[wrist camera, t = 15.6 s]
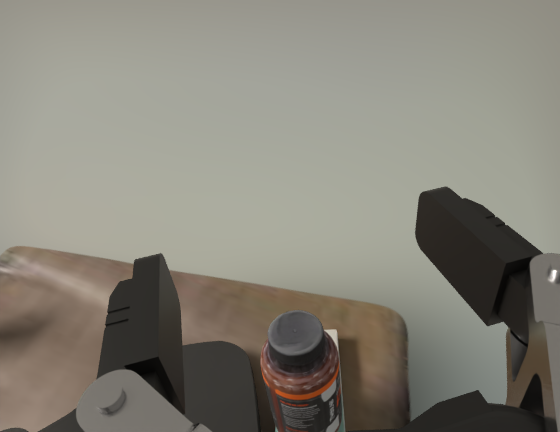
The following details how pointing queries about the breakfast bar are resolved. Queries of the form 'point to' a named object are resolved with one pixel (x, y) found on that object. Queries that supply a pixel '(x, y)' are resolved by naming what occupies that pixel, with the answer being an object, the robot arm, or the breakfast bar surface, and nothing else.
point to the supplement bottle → (302, 374)
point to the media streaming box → (220, 387)
